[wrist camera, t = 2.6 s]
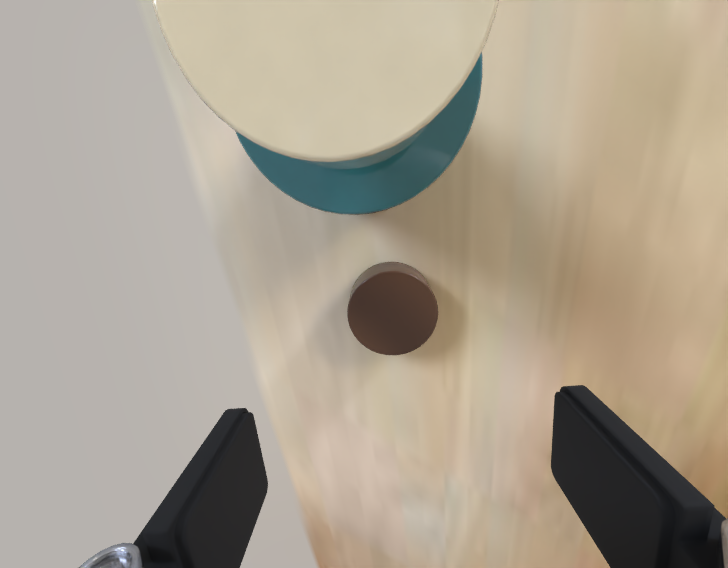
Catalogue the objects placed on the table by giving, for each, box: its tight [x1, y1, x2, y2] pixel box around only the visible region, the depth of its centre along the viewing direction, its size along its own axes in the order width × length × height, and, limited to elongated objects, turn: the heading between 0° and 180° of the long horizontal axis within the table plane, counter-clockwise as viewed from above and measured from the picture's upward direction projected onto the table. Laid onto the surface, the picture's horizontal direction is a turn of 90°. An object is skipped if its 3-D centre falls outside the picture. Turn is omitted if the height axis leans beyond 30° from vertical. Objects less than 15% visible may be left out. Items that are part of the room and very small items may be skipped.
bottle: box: [152, 0, 499, 215], centre depth 12 cm, size 7×7×15 cm
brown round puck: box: [348, 262, 438, 355], centre depth 20 cm, size 5×5×2 cm
